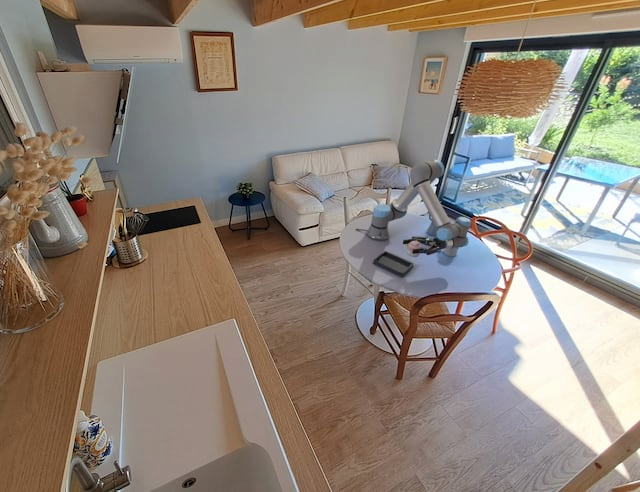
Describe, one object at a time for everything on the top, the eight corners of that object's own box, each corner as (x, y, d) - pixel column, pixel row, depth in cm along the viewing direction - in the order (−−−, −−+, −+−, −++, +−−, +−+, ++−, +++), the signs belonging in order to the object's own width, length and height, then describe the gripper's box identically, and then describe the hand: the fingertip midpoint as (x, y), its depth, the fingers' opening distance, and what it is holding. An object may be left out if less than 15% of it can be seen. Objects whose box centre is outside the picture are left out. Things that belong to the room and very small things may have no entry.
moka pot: (437, 239, 207) (444, 215, 197) (419, 229, 219) (425, 206, 209) (445, 236, 211) (453, 212, 201) (427, 226, 222) (434, 203, 213)
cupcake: (416, 249, 176) (420, 235, 171) (423, 258, 168) (428, 244, 163) (401, 249, 176) (405, 236, 171) (408, 259, 167) (412, 245, 162)
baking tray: (373, 263, 183) (373, 260, 182) (384, 254, 192) (384, 250, 190) (402, 277, 171) (403, 274, 169) (412, 266, 180) (413, 263, 178)
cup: (451, 258, 187) (455, 246, 183) (437, 250, 194) (441, 239, 190) (457, 254, 191) (461, 243, 186) (443, 247, 198) (447, 236, 193)
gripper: (452, 258, 164) (417, 263, 160) (429, 238, 183) (397, 241, 179) (456, 248, 160) (420, 252, 157) (432, 228, 179) (399, 231, 176)
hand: (408, 246), depth 168 cm, fingers closed on cupcake, 9 cm apart
